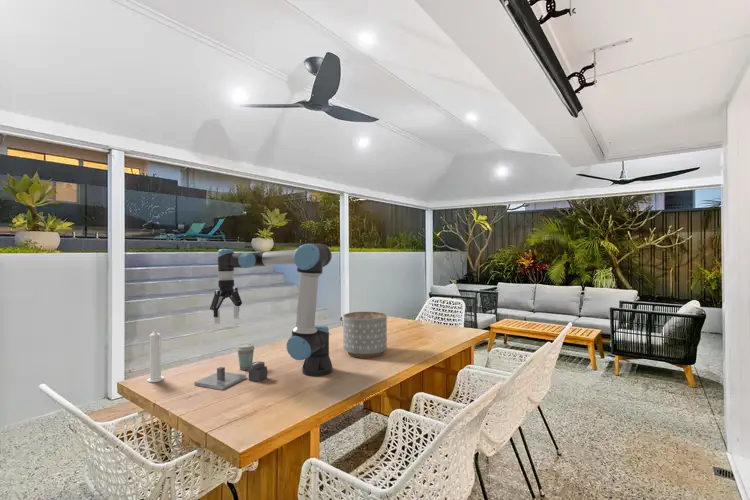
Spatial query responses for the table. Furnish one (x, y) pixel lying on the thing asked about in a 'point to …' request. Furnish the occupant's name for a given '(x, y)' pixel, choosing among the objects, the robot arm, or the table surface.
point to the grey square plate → (220, 379)
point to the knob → (257, 371)
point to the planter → (365, 334)
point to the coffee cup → (245, 356)
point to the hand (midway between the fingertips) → (227, 320)
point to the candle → (155, 358)
